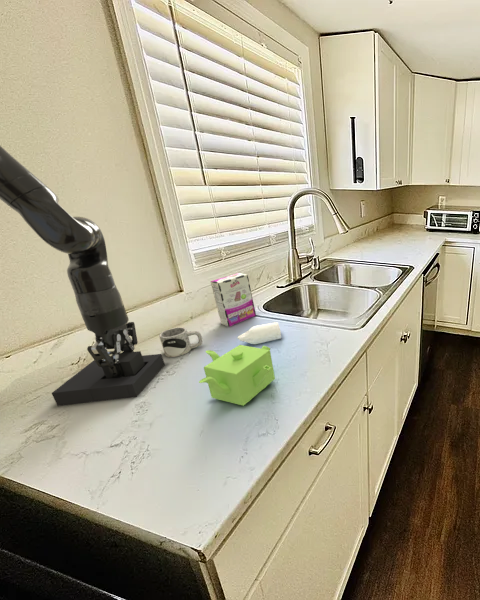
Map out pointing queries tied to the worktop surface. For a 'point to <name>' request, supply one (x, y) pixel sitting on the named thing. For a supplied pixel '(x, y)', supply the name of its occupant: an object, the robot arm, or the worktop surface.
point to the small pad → (127, 364)
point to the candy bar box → (233, 299)
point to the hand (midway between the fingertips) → (125, 370)
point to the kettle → (239, 373)
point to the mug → (178, 341)
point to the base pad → (106, 383)
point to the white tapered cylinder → (261, 333)
